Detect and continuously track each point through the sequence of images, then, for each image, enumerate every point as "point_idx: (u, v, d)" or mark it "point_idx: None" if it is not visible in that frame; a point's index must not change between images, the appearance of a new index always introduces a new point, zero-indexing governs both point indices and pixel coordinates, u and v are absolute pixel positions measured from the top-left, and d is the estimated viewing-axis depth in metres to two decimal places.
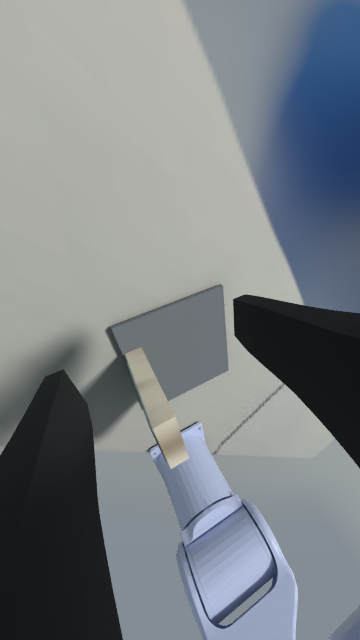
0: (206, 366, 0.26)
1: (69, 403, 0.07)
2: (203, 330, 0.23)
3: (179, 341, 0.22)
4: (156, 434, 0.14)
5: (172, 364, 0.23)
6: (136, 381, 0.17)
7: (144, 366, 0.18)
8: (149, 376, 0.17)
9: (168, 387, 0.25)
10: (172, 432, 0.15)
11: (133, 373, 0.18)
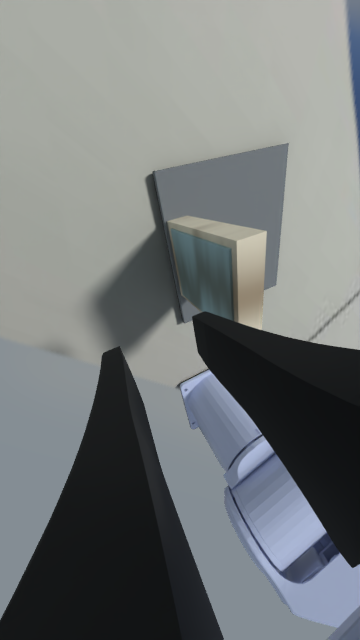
0: None
1: (130, 375, 0.07)
2: (258, 211, 0.18)
3: (230, 221, 0.18)
4: (238, 258, 0.10)
5: None
6: (192, 227, 0.13)
7: (198, 220, 0.14)
8: (209, 222, 0.13)
9: None
10: (256, 266, 0.10)
11: (185, 225, 0.13)
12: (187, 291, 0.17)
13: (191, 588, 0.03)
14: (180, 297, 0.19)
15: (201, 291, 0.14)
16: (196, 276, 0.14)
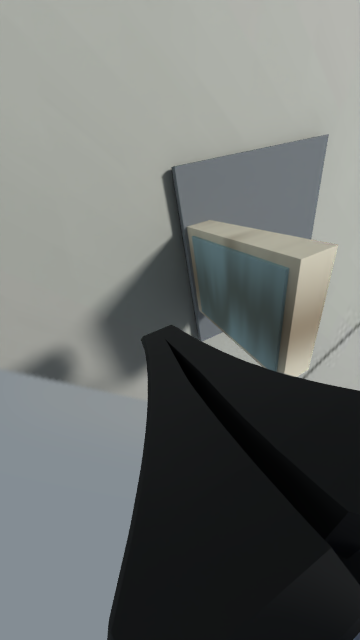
0: None
1: None
2: (289, 215, 0.16)
3: (258, 225, 0.15)
4: (299, 282, 0.07)
5: None
6: (224, 236, 0.10)
7: (228, 227, 0.11)
8: (244, 230, 0.10)
9: None
10: (317, 290, 0.08)
11: (213, 233, 0.11)
12: (209, 309, 0.14)
13: None
14: (198, 313, 0.16)
15: (230, 312, 0.12)
16: (225, 294, 0.12)
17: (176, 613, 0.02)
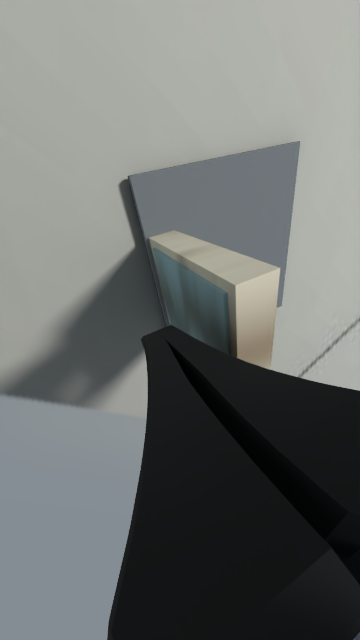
0: None
1: None
2: (262, 224, 0.15)
3: (228, 235, 0.14)
4: (238, 308, 0.07)
5: None
6: (177, 251, 0.09)
7: (186, 240, 0.11)
8: (199, 245, 0.10)
9: None
10: (263, 315, 0.07)
11: (168, 246, 0.10)
12: (175, 323, 0.13)
13: None
14: (168, 325, 0.16)
15: (190, 330, 0.11)
16: (183, 310, 0.11)
17: (176, 613, 0.02)
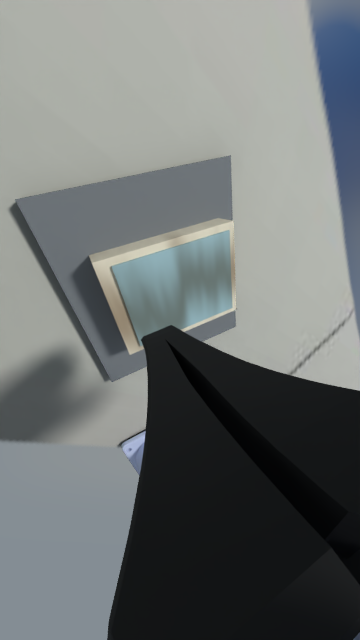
0: None
1: None
2: None
3: None
4: (233, 235, 0.13)
5: None
6: (163, 241, 0.11)
7: (137, 243, 0.12)
8: (158, 237, 0.12)
9: None
10: None
11: (146, 245, 0.11)
12: (154, 329, 0.13)
13: None
14: (98, 354, 0.14)
15: (187, 302, 0.13)
16: (177, 291, 0.13)
17: (176, 614, 0.02)
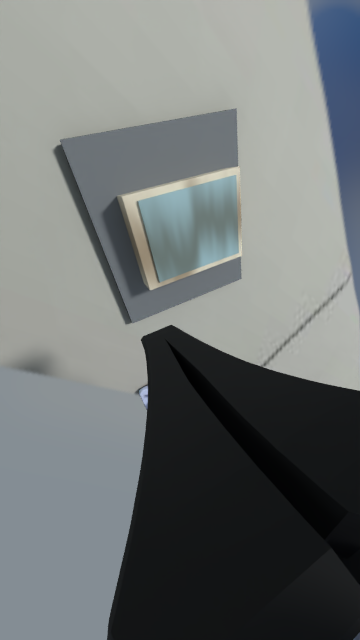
0: None
1: None
2: None
3: None
4: (239, 180, 0.15)
5: None
6: (180, 181, 0.13)
7: (157, 186, 0.14)
8: (175, 181, 0.14)
9: (160, 288, 0.18)
10: None
11: (166, 184, 0.13)
12: (172, 267, 0.15)
13: None
14: (122, 294, 0.17)
15: (199, 242, 0.15)
16: (192, 231, 0.15)
17: (176, 613, 0.02)
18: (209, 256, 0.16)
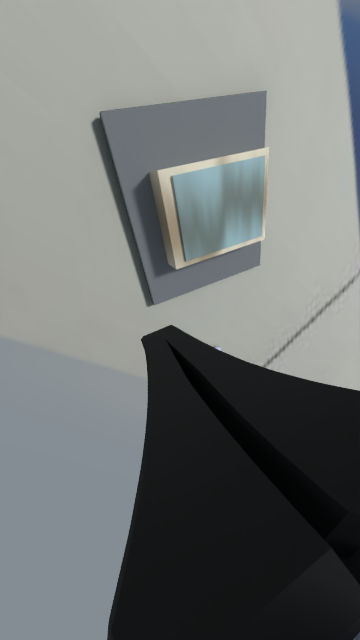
0: None
1: None
2: None
3: None
4: (267, 161, 0.15)
5: None
6: None
7: None
8: None
9: (183, 270, 0.18)
10: None
11: None
12: (198, 246, 0.15)
13: None
14: (146, 273, 0.17)
15: (226, 222, 0.16)
16: (220, 210, 0.15)
17: (176, 613, 0.02)
18: (234, 237, 0.16)
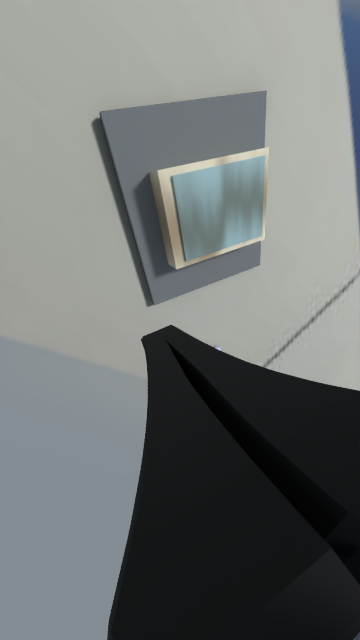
0: None
1: None
2: None
3: None
4: (267, 161, 0.15)
5: None
6: None
7: None
8: None
9: (183, 270, 0.18)
10: None
11: None
12: (198, 246, 0.15)
13: None
14: (146, 273, 0.17)
15: (226, 222, 0.16)
16: (220, 210, 0.15)
17: (176, 613, 0.02)
18: (234, 237, 0.16)
